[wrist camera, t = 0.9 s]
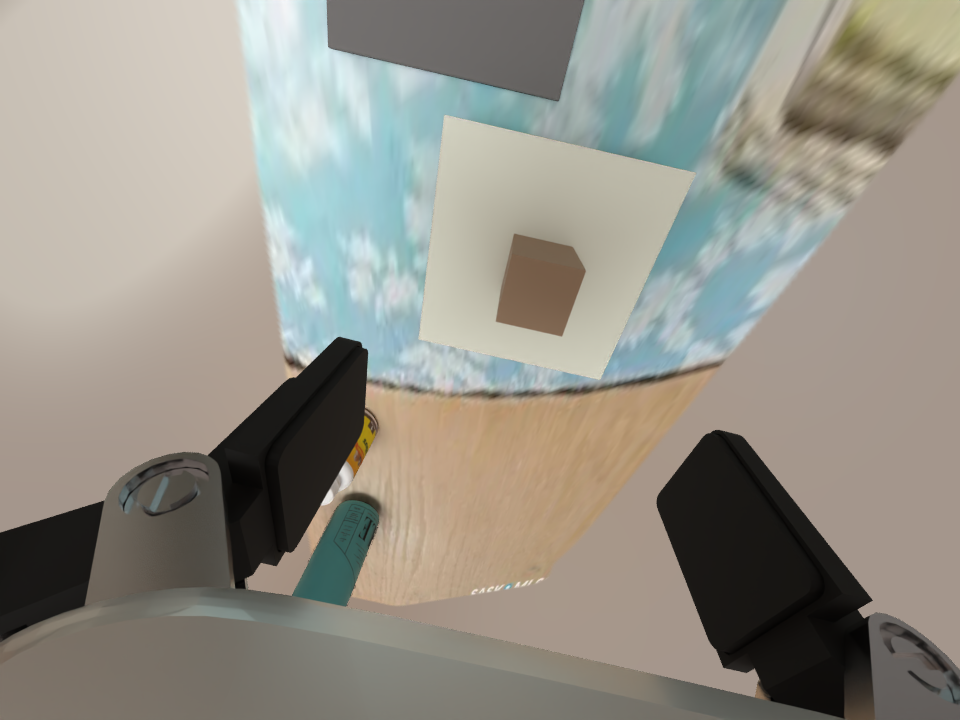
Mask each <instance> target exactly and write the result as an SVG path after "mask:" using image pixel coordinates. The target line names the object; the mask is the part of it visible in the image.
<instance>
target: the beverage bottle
mask: <svg viewBox="0 0 960 720" xmlns="http://www.w3.org/2000/svg"><path fill="white" fill-rule="evenodd" d="M332 514H333V513H332ZM328 522H329V521H328ZM378 523H379V515H378V513H377V511H376V510H375V509H374V508H373V507H371V506H370V505H368V504H366V503H364V502H361V501H356V500H348V501H344V502H342V503H341V504H340V505H339V506H338V507H336V510H335V511H334V514H333V515H332V518H331V520H330V522H329V524H328V523H327V524H328V526H326V527H327V528H326V527H325V528H326V529H325V531H324V533H323V535H322V537H321V538H320V539H319V540H320V541H319V543H318V545H317V546H316V549H315V548H314V549H315V551H314V550H313V551H314V553H313V555H312V557H311V559H310V561H309V563H308V565H307V567H306V569H305V571H304V573H303V575H302V577H301V579H300V581H299V583H298V585H297V586H296V588H295V590H294V592H293V594H292V596H295V597H300V598H305V599H310V600H315V601H320V602H325V603H330V604H335V605H340V606H345V607H346V606H347V603H348V601H349V598H350V597H351V595H352V594H353V593H352V591H353V589H355V588H354V586H355V583H356V580H357V578H358V575H359V573H360V570H361V567H363V562H364V560H365V557H366V556H367V555H366V554H367V552H368V549H369V546H370V544H371V541H372V539H373V537H375V536H374V533H375V531H377V529H378V528H377V526H378ZM375 534H376V533H375ZM372 542H373V541H372ZM371 545H372V544H371ZM368 553H369V552H368ZM355 587H356V586H355ZM351 593H352V594H351Z"/></svg>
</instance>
